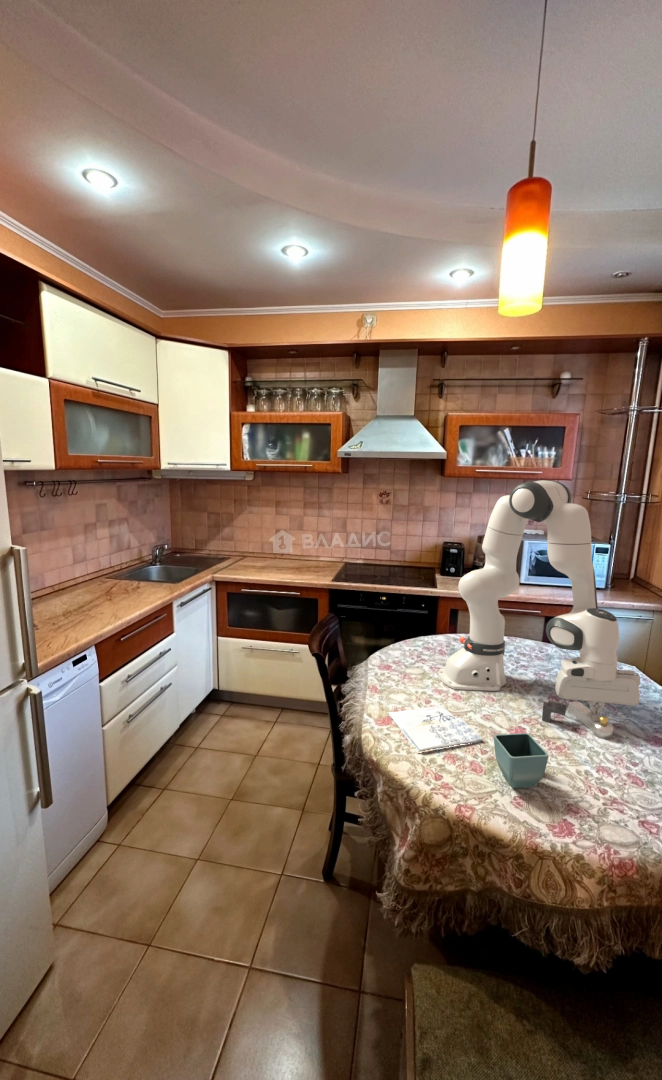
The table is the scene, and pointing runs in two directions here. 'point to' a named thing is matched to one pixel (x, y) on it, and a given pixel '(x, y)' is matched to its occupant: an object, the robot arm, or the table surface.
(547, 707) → the pintle base
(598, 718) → the link
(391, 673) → the table surface
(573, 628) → the robot arm
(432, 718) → the white illustrated notebook
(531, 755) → the flower pot
